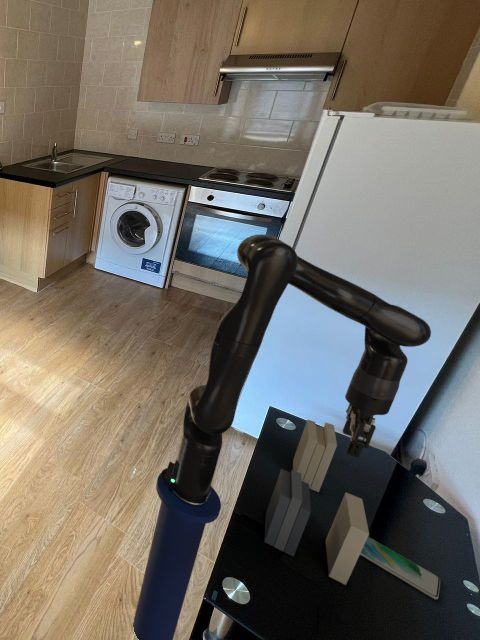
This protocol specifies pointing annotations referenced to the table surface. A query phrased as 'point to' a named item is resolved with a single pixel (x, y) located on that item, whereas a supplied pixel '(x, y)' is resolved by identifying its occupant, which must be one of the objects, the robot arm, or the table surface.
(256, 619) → the table surface
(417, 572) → the smartphone
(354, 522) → the beige thin block
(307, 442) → the beige books
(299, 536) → the grey books
